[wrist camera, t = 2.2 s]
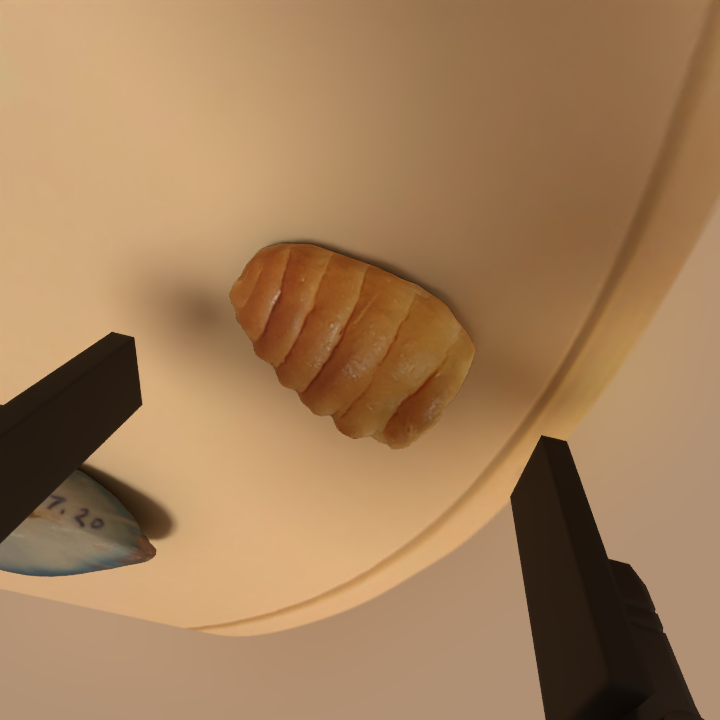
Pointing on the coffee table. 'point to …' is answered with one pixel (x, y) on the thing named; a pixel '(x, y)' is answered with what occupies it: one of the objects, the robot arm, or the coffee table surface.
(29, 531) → the seashell
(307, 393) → the pastry
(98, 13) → the coffee table surface
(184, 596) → the coffee table surface
